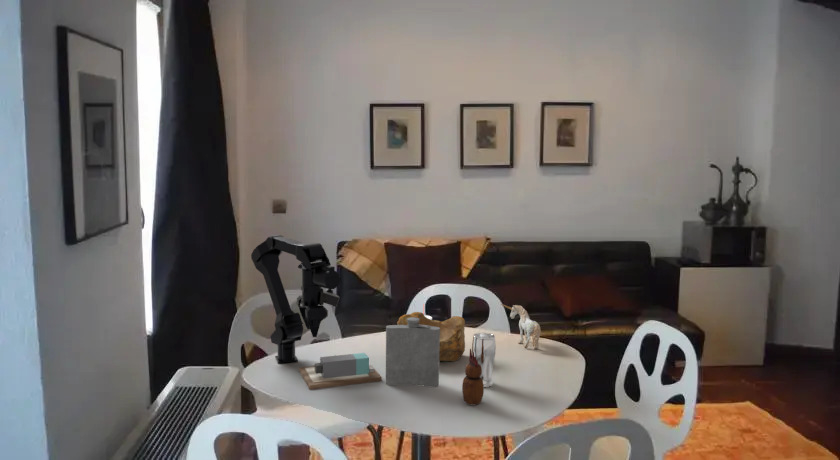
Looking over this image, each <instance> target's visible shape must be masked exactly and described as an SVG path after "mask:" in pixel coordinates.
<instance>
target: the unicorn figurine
mask: <svg viewBox="0 0 840 460" xmlns="http://www.w3.org/2000/svg"><path fill="white" fill-rule="evenodd" d="M500 305H501V306H502V307H505V309H506V308H507V309H509V310H511V311H510V314H509V318H511V319H512V320H513V319H515V316H516V315H519V317H520V319H519V322H518V326H519V331H520V333H519V335H520V338H519V340H518V344H521V345H523V344H524V345H523V346H524V349H528V346H529V344H530V343H529V341H531V339H532V347H533V349H534V350H538V349H539V348H540V345H539V340H540V336H541V326H540V324H539V323H538V322H537V321H535V320H532V319H530V316H529V313H528V311H527V310H526V309H525V308H524V307H523V306H522V305H518V304H515V305H514V304H513V305H512V307H511V306H508V305H505V304H503V303H501V304H500ZM531 336H532V338H531ZM524 339H525V342H524Z"/></svg>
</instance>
